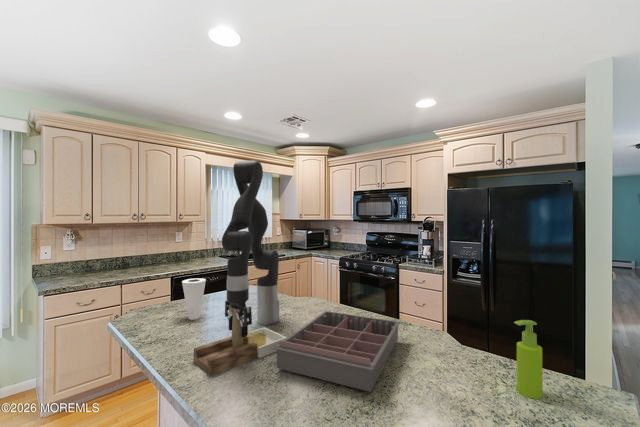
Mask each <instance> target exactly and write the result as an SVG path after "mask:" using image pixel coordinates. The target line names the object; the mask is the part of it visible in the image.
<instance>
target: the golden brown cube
mask: <svg viewBox="0 0 640 427" xmlns="http://www.w3.org/2000/svg"><path fill="white" fill-rule="evenodd" d="M255 334H257V349H258V347H260V346H262V345H265V344H266V335H265V334H263V333H261V332H258V333H255Z"/></svg>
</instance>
